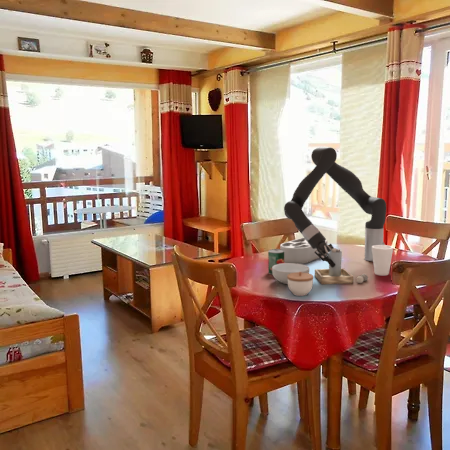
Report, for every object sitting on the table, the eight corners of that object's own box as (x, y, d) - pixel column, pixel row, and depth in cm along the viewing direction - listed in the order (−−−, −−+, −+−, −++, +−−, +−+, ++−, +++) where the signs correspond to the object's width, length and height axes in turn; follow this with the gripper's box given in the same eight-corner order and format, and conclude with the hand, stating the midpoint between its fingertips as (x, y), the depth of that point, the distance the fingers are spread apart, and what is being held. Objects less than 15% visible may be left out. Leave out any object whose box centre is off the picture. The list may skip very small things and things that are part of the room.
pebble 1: (362, 281, 211) (362, 275, 211) (364, 283, 208) (364, 276, 207) (355, 282, 211) (355, 275, 210) (357, 284, 208) (357, 277, 207)
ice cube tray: (327, 255, 264) (327, 240, 262) (300, 266, 243) (300, 249, 242) (301, 252, 275) (301, 237, 273) (274, 261, 254) (274, 245, 252)
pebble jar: (339, 273, 218) (340, 246, 215) (342, 276, 213) (343, 249, 210) (327, 273, 218) (328, 246, 216) (330, 276, 213) (331, 249, 210)
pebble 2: (366, 279, 214) (366, 273, 214) (368, 281, 211) (369, 274, 210) (359, 280, 214) (359, 273, 213) (361, 282, 211) (362, 275, 210)
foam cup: (392, 271, 226) (392, 245, 224) (392, 276, 218) (393, 249, 216) (371, 270, 230) (372, 244, 228) (370, 275, 221) (371, 248, 219)
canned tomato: (283, 275, 225) (283, 252, 224) (267, 274, 227) (267, 252, 225) (285, 270, 233) (285, 249, 231) (269, 270, 235) (269, 248, 233)
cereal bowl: (300, 289, 202) (300, 273, 201) (265, 284, 211) (265, 269, 210) (315, 280, 216) (315, 265, 215) (282, 275, 225) (281, 261, 224)
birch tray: (344, 274, 223) (344, 268, 223) (353, 283, 209) (353, 276, 209) (314, 275, 223) (314, 269, 222) (321, 284, 209) (321, 277, 208)
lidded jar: (284, 290, 201) (284, 269, 200) (309, 289, 202) (309, 268, 201) (290, 298, 191) (290, 275, 189) (316, 296, 192) (316, 274, 190)
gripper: (311, 233, 212) (335, 263, 206) (325, 229, 223) (349, 257, 217) (300, 244, 216) (324, 273, 210) (315, 239, 227) (338, 266, 221)
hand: (336, 264), depth 214 cm, fingers closed on pebble jar, 5 cm apart
